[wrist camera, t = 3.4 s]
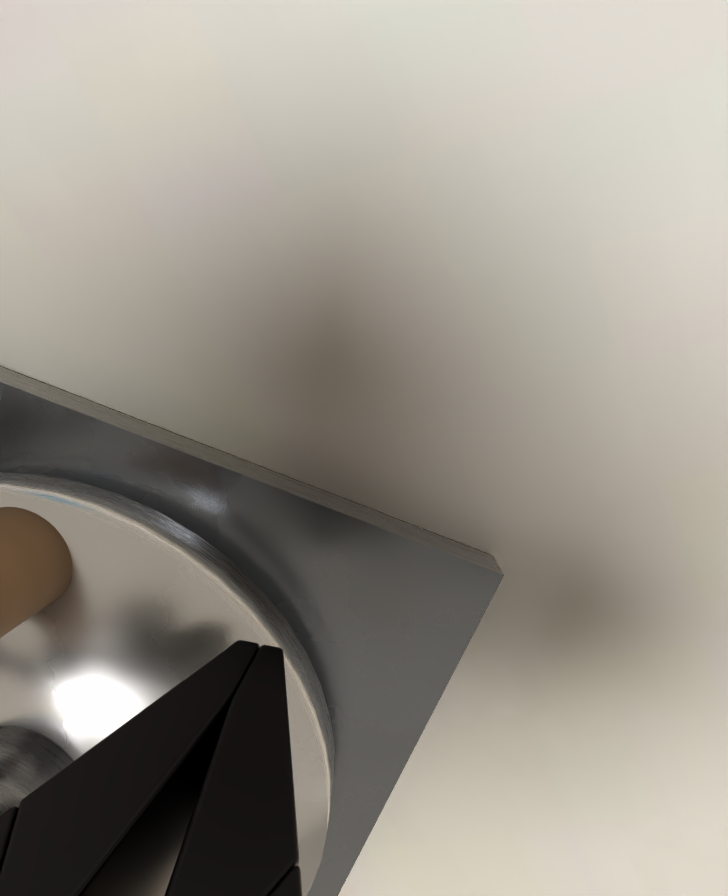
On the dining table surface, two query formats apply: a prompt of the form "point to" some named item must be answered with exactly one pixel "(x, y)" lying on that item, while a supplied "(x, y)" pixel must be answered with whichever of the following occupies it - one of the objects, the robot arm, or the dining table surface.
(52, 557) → the metal crank wheel
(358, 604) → the base
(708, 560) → the dining table surface
